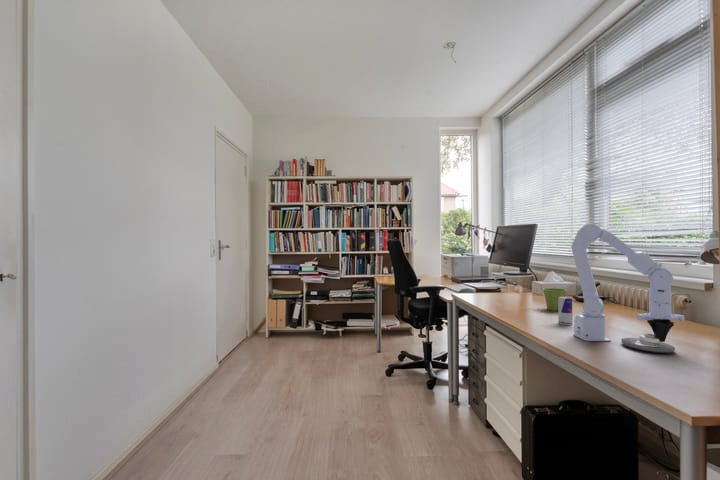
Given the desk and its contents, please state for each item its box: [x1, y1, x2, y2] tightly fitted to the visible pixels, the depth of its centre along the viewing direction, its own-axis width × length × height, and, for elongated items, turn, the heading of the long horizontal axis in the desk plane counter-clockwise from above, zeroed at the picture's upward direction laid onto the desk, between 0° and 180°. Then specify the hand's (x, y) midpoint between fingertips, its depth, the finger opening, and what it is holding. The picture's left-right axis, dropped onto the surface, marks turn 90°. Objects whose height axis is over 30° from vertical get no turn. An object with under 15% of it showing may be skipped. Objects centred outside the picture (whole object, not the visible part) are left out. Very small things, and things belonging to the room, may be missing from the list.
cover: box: [638, 332, 660, 346], centre depth 113 cm, size 5×5×3 cm
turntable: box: [620, 337, 676, 354], centre depth 113 cm, size 14×14×2 cm
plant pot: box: [542, 287, 568, 312], centre depth 177 cm, size 12×12×11 cm
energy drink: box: [557, 296, 573, 326], centre depth 147 cm, size 5×5×12 cm
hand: (660, 341), depth 113 cm, fingers closed
